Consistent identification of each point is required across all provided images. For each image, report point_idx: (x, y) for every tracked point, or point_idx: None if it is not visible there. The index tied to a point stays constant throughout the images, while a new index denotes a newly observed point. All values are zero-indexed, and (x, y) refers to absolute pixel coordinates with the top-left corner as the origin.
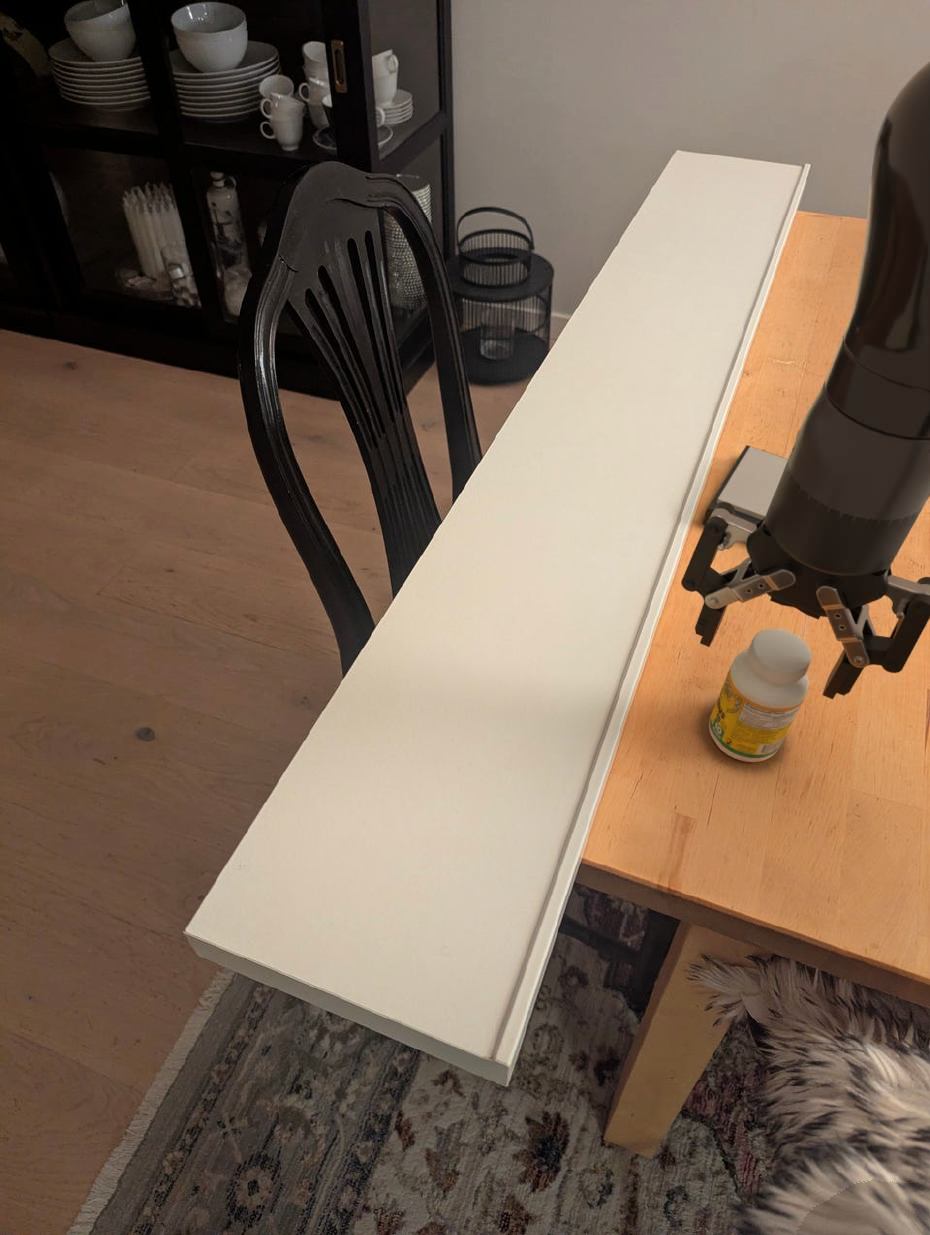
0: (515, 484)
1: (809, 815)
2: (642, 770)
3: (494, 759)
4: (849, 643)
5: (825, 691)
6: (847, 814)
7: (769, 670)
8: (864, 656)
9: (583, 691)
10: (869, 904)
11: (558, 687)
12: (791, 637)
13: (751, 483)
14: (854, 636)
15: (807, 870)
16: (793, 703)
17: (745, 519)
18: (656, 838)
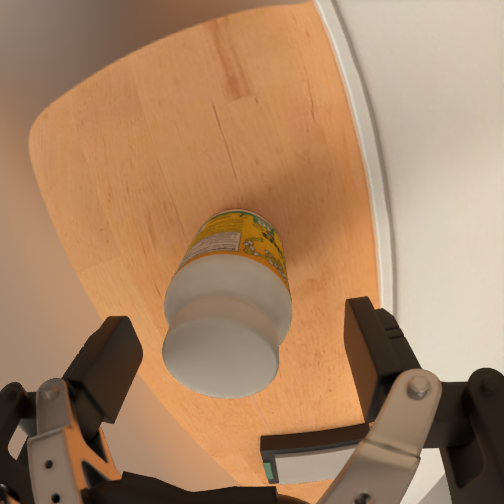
0: (499, 360)
1: (131, 196)
2: (316, 124)
3: (444, 59)
4: (58, 423)
5: (117, 321)
6: (108, 224)
7: (214, 312)
8: (39, 401)
9: (420, 193)
10: (58, 147)
11: (442, 182)
12: (220, 391)
13: (344, 462)
14: (30, 443)
15: (106, 134)
16: (168, 287)
17: (339, 444)
18: (254, 51)
